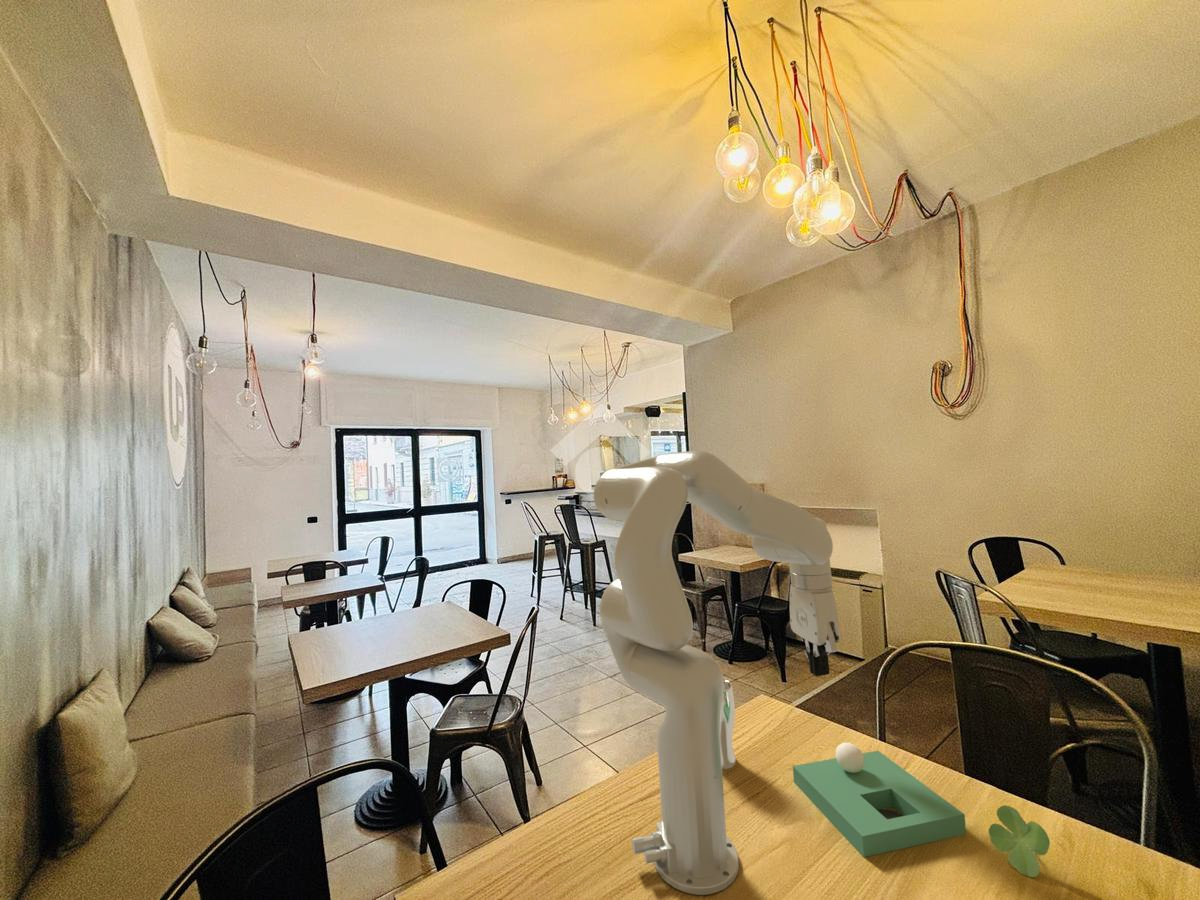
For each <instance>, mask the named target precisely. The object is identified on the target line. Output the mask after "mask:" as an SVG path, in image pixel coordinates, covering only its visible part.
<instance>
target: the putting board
mask: <svg viewBox="0 0 1200 900" xmlns="http://www.w3.org/2000/svg"><path fill="white" fill-rule="evenodd" d="M862 754H863V756H864V766H863V768H862V769H861V770H860V771H859V772H856V773H851V772H848V771H846V770H844V769H843V768H842V767H841V766H840V765H839V763H838V762H837V759H836V757H834V758H829V759H824V760H819V761H814V762H807V763H803V764H797V765H792V773H793V774H792V775H793V776H792V777H793V783H794V784H795V785H796V786H797V787H798V789H800V791H801V792H802V793H803V794H804V795H805V796H806V797H807V798H808V799H809V800H810V802H812V804H813V805H815V807H816V809H818V810H819V811H820V812H821V813H822V815H824V816H825V818H826V819H827V820H828V821H829V823H831V824H832V825H833V826H834V827H835V828H836V829H837V831H838V832H840V833H841V834H842V836H843V837H844V838H845V839H846V840H847V841H848V842H849V843H850V844H851V845H852V846H853V847H854V848H855V849H856V851H857V852H858V853H859V854H860V855H861V856H862V857H863V858H867V857H871V856H876V855H881V854H884V853H889V852H893V851H898V850H903V849H906V848H911V847H915V846H919V845H920V846H921V845H925V844H930V843H932V842H937V841H943V840H947V839H950V838H954V837H955V838H956V837H960V836H964V835H966V834H967V829H966V819H965V818H966V816H965V815H966V814H965V813H963V812H962V811H961V810H960V809H958V808H956V807H955V805H952V803H951V802H949V801H947V799H945V798H943V797H942V796H941V795H939V794H938V793H936V792H935V791H933V790H932V789H931V788H930V787H929V786H927V785H926V784H924V783H923V782H922V781H920V780H919V779H917V778H916V777H915V776H913V775H912V774H910V773H909V772H908V771H907V770H905V769H904V768H902V767H901V766H900V765H898V764H897V763H896V762H894V761H893V760H892V759H890V757H887V756H886V755H885V754H884V753H882V752H881V751H879V750H874V751H869V752H862ZM889 808H894V809H895V810H890V809H889ZM896 811H897V812H896Z"/></svg>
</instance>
